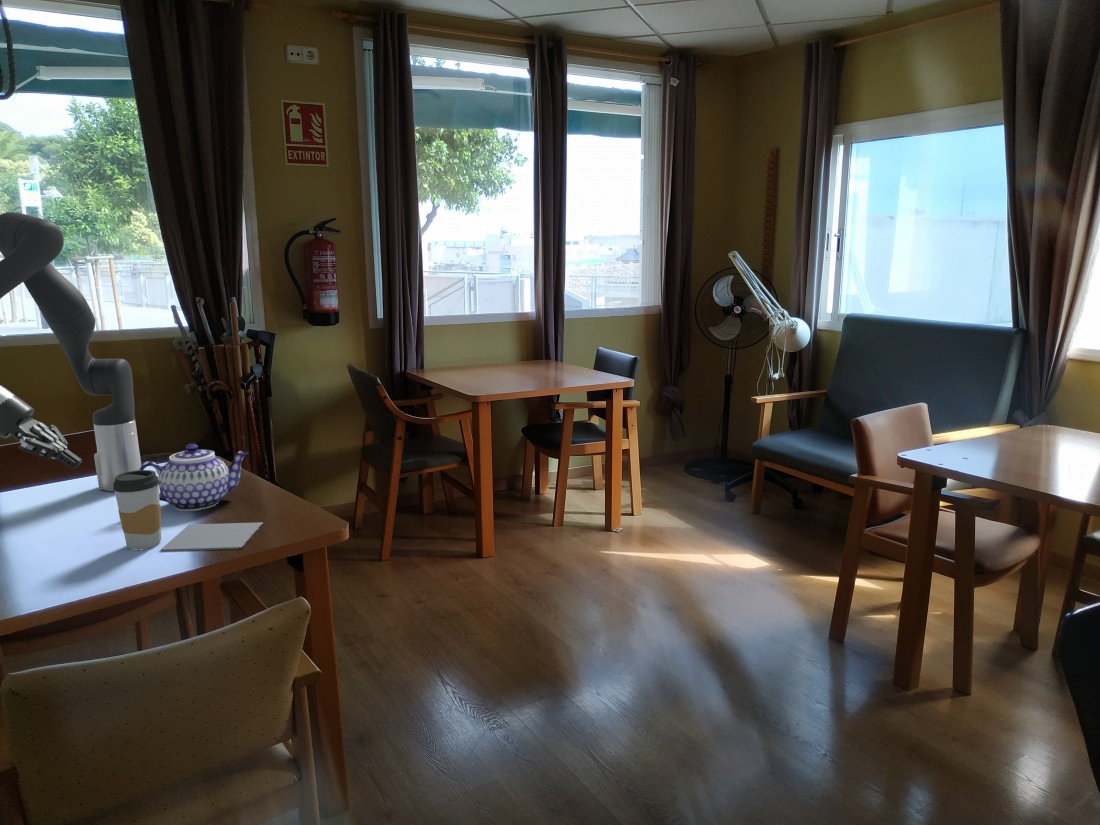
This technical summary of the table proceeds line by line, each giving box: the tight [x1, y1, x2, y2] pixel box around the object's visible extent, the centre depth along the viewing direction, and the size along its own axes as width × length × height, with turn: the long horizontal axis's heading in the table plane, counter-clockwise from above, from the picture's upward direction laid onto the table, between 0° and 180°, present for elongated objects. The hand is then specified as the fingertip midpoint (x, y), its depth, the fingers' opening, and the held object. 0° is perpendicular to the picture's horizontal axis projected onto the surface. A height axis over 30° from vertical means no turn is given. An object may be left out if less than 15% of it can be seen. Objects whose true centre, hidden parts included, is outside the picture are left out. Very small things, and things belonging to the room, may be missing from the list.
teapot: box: [138, 443, 249, 512], centre depth 177 cm, size 25×15×15 cm, turn 121°
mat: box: [160, 521, 264, 552], centre depth 158 cm, size 16×14×1 cm
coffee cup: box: [113, 469, 162, 551], centre depth 152 cm, size 8×8×15 cm
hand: (78, 465), depth 148 cm, fingers closed
